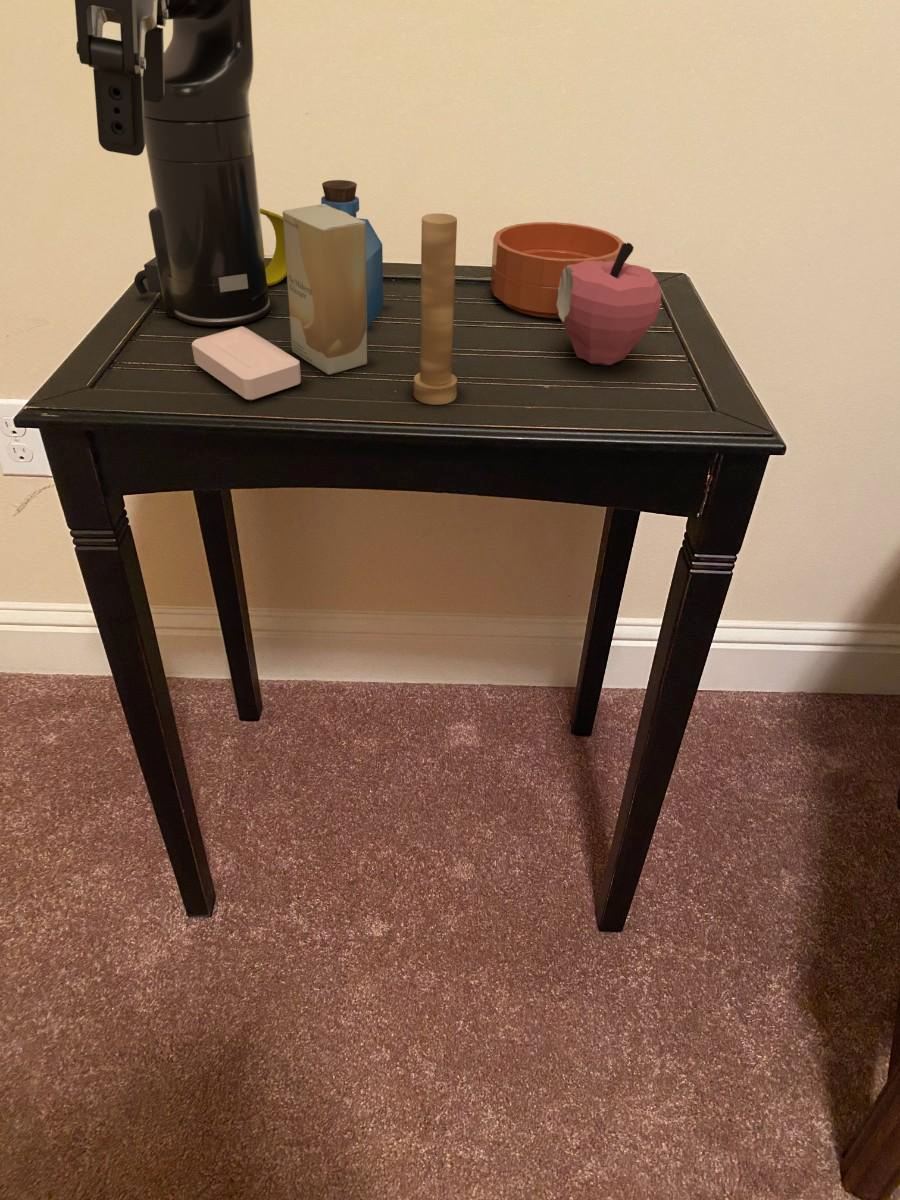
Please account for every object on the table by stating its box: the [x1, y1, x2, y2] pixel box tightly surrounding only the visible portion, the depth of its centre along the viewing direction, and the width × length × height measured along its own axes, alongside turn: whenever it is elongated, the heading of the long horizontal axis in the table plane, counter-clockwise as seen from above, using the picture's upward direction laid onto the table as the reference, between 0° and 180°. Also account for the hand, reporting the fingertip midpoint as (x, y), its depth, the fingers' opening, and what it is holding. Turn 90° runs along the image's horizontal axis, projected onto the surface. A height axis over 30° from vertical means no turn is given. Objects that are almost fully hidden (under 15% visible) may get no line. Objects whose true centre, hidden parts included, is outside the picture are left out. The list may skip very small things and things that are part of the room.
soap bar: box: [191, 325, 302, 401], centre depth 72 cm, size 5×9×2 cm, turn 42°
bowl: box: [490, 221, 625, 319], centre depth 88 cm, size 13×13×6 cm
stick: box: [413, 212, 458, 406], centre depth 67 cm, size 4×4×14 cm
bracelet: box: [259, 207, 287, 287], centre depth 89 cm, size 7×8×3 cm
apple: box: [557, 242, 662, 367], centre depth 75 cm, size 10×9×10 cm
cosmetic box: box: [281, 203, 368, 376], centre depth 72 cm, size 6×4×12 cm
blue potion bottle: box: [320, 179, 384, 329], centre depth 81 cm, size 6×6×12 cm
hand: (134, 123), depth 47 cm, fingers open, 8 cm apart
